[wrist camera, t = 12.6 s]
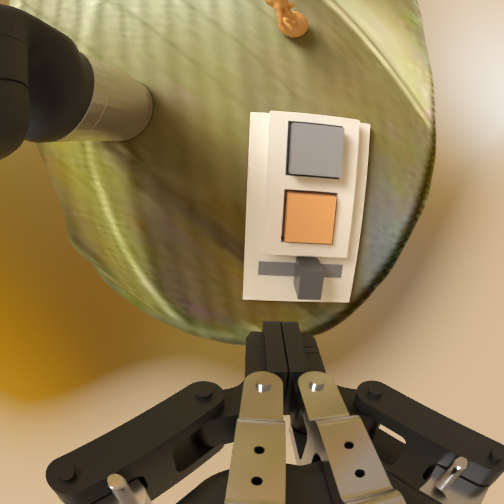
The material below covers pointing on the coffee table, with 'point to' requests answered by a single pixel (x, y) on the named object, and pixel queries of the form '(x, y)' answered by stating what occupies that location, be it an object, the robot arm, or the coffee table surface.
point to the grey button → (315, 150)
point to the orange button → (309, 217)
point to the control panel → (273, 205)
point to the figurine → (289, 18)
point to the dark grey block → (308, 278)
